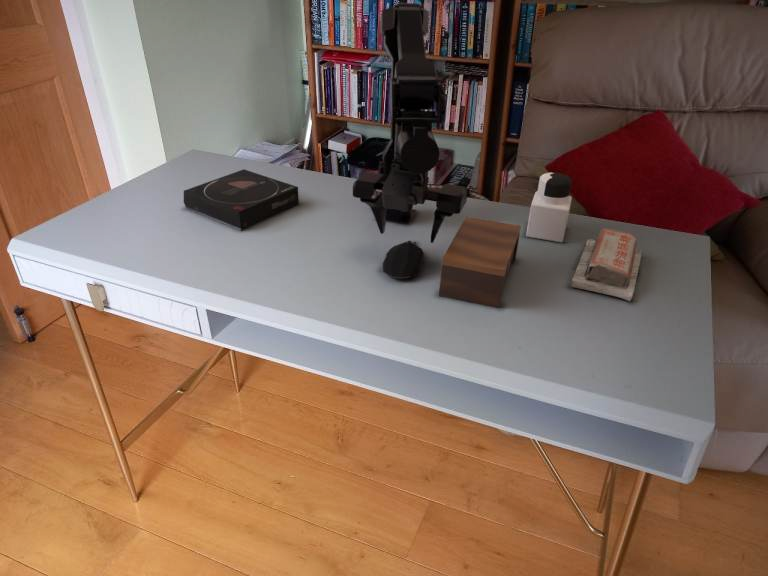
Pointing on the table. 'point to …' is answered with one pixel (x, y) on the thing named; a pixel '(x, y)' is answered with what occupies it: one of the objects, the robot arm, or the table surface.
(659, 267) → the table surface
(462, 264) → the walnut wood stand
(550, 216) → the medicine bottle
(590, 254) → the packaged product
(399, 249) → the gaming mouse
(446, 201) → the robot arm
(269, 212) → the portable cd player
